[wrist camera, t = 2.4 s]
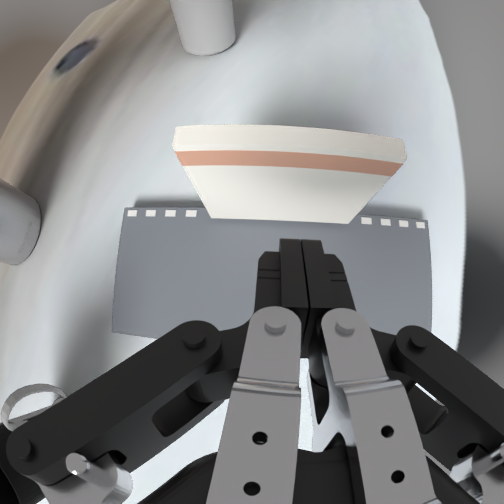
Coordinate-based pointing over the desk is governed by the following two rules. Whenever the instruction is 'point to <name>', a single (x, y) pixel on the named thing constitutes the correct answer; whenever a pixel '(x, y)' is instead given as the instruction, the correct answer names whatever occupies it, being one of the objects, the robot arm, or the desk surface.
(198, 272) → the board
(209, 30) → the can
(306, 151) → the white square panel
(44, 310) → the desk surface
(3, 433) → the glass holder
